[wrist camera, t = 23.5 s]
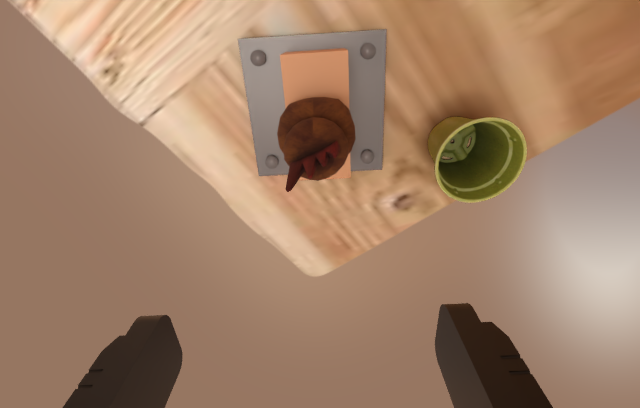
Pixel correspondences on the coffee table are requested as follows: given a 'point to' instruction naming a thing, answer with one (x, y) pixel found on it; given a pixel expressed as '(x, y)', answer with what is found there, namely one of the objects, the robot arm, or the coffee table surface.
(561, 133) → the coffee table surface
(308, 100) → the wooden figurine
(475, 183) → the plant pot
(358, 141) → the baseplate
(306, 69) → the brick
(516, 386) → the robot arm
